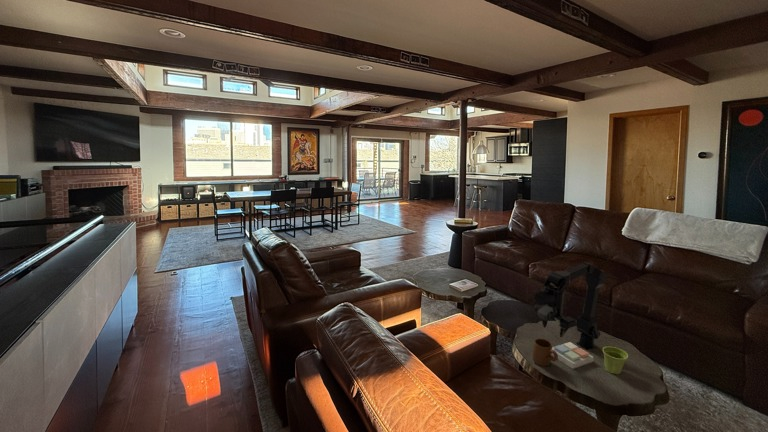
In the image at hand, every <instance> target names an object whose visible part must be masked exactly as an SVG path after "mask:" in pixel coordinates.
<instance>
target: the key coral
mask: <svg viewBox="0 0 768 432" xmlns="http://www.w3.org/2000/svg"><path fill="white" fill-rule="evenodd" d="M578 348H579V347H578ZM574 353H576V354H578V355H579V356H580V358H581V359H583V358H586V357H588V356H589V354H590V353H589V352H588V351H586V350H584V348H581V347H580V348H579V349H576V350H574Z"/></svg>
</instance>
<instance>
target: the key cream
mask: <svg viewBox="0 0 768 432" xmlns="http://www.w3.org/2000/svg"><path fill="white" fill-rule="evenodd" d="M563 346H564V347H566V348H568V349H569V351H574V350H576V349H578V348H579V347H578V345H575V344H574V343H572V342H571V341H569V342H565V343H563Z"/></svg>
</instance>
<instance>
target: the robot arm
mask: <svg viewBox="0 0 768 432" xmlns="http://www.w3.org/2000/svg"><path fill="white" fill-rule="evenodd" d="M607 275H608V274H607V272H606V271H605V270H602V269H599V268H598V267H597V266H595V265H593V264H592V263H589V262H587V261H581V263H580V264H577V265H575V266H573V267H570V268H568V269H566V270H557V271H552V272H550V273H549V275H548V276H547V278H546V279H545V281H544V282H543V284H542V288H543V289H542V288H541V289H538V291H537V292H535V295H534V300H535V303H536V304H535V305H534V307H533V310H534V311H535V314H537V315H538V317H539V318H540V319H541V322H542V323H541V324H542V326H543V328H544V329H545V328H547V325H548V323H549V322H548V321H550V320H551V321H552V320H554V319H557V320H559V325H558V326H559V327H560V330H559V337H560V338H563V337H564V335H565V334H566V333H567V332H568V330H569V329H571V328H574V327H576V331H577V332H579V333H580V337H579V341H576V344H577V346H578V345H579V346H580V347H582V348H583V349H586V350H587V351H588V350H592V349H596V348H597V347H598V346H597V345H596V344H595V340H599V338H600V336H601V332H600V330H599V329H598V322H597V319H596V317H595V316H596V310H597V305H598V300H599V293H600V288H602V287H603V286H604V285H605V283H606V281H607V278H608V276H607ZM583 276H584V281H585V283H586V284H587V288H586V293H585V297H584V305H583V309H582V310H583V311H582V314H581V315H580V316H577V317H576V319H575V318H573V317H571V316H568V315H567V316H563V315H564V314H565V311H563V307H564V306H565V305H566V303H565V302H564V297H565V292H566V291H568V288H567V287H568V286H569V285H571V282H572V281H574V280H576V279H578V278H580V277H583Z"/></svg>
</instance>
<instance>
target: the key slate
mask: <svg viewBox="0 0 768 432" xmlns="http://www.w3.org/2000/svg"><path fill="white" fill-rule="evenodd" d="M553 347H554V350H555V351H557V352H558V353H560V354H561V355H564V354H565V353H567V352H569V349H568V348H566V347H564V346H563V345H562V344H559V345H556V346H553Z"/></svg>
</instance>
